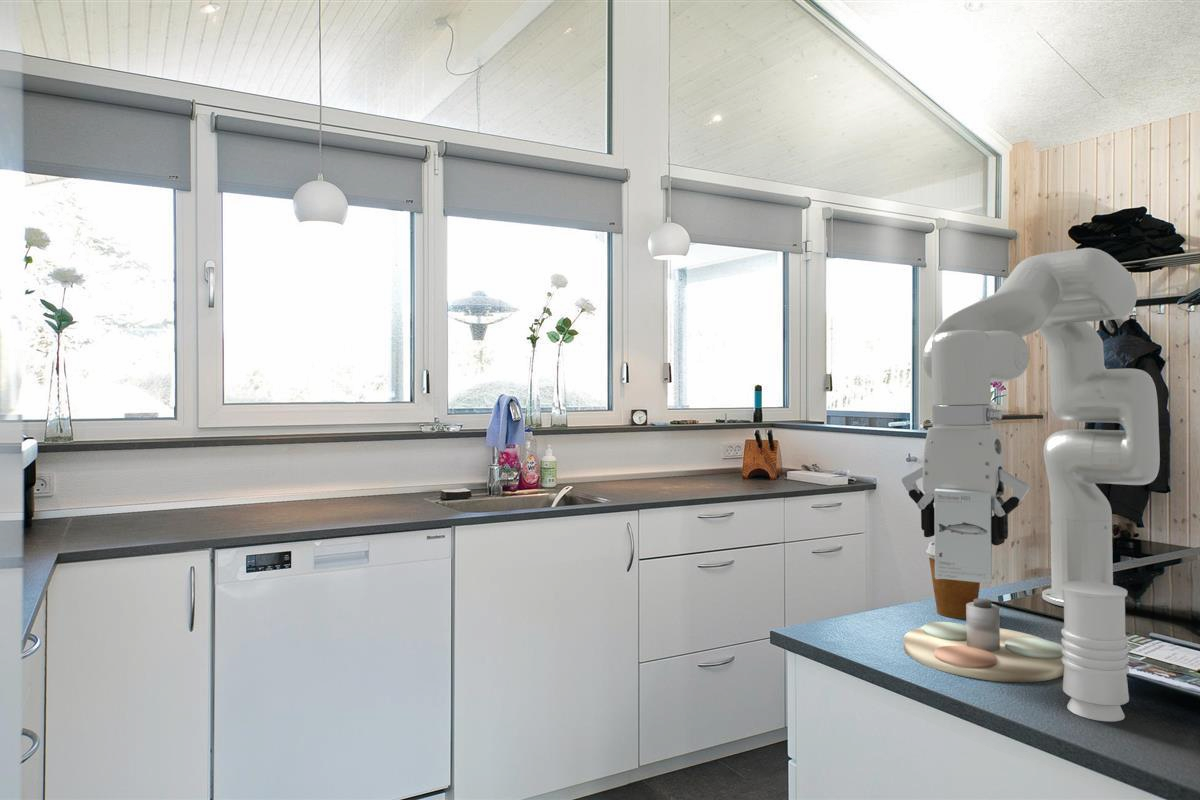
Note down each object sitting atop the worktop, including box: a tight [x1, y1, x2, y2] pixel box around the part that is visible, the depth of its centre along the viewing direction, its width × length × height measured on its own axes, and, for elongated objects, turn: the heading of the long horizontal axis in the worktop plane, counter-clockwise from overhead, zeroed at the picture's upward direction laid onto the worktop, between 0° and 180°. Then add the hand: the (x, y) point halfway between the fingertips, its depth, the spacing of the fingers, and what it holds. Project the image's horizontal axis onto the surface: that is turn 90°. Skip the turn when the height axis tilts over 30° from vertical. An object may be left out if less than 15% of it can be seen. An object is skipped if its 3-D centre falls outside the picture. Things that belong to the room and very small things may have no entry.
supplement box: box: [934, 488, 993, 585], centre depth 108 cm, size 7×7×13 cm
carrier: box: [903, 597, 1064, 683], centre depth 113 cm, size 22×22×8 cm
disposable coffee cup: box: [925, 541, 981, 619], centre depth 134 cm, size 10×10×12 cm
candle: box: [1060, 581, 1130, 722], centre depth 93 cm, size 7×7×15 cm
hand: (963, 539), depth 108 cm, fingers closed on supplement box, 8 cm apart
